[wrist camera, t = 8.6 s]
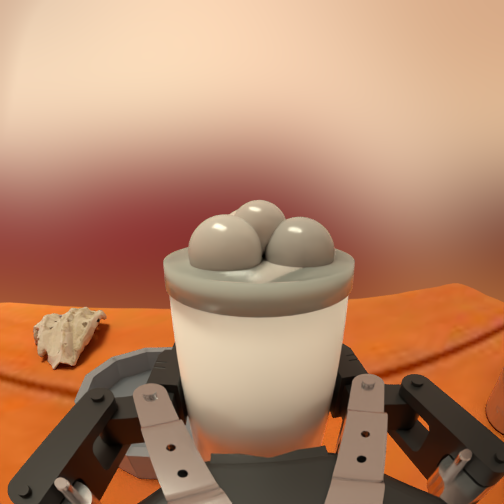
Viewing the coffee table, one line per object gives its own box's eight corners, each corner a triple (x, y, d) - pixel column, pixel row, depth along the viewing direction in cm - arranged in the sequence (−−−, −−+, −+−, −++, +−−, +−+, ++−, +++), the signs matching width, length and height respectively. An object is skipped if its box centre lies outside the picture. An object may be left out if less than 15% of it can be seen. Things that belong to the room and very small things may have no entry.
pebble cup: (292, 424, 15) (307, 199, 13) (331, 495, 9) (400, 206, 7) (195, 438, 14) (167, 201, 11) (208, 521, 8) (146, 206, 5)
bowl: (232, 366, 34) (232, 343, 33) (268, 469, 18) (270, 446, 17) (105, 369, 30) (99, 347, 29) (73, 469, 14) (57, 445, 13)
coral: (71, 373, 28) (60, 339, 27) (20, 354, 29) (10, 323, 28) (122, 328, 43) (118, 299, 42) (72, 319, 44) (67, 294, 43)
